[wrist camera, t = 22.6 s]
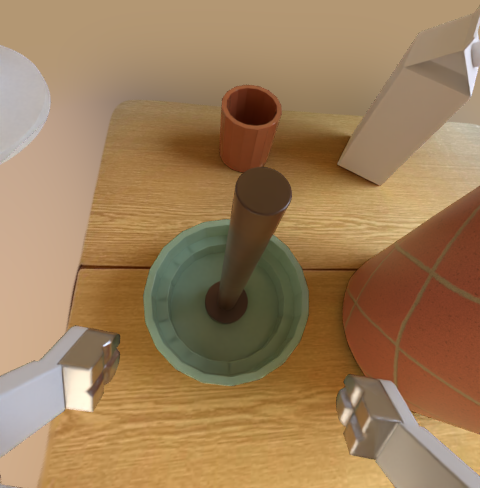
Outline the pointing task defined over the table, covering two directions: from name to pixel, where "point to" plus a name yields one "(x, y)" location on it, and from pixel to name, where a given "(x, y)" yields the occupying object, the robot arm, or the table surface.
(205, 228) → the bowl
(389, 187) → the table surface
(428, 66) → the milk carton
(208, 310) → the stirring stick
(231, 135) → the crock
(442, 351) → the planter
